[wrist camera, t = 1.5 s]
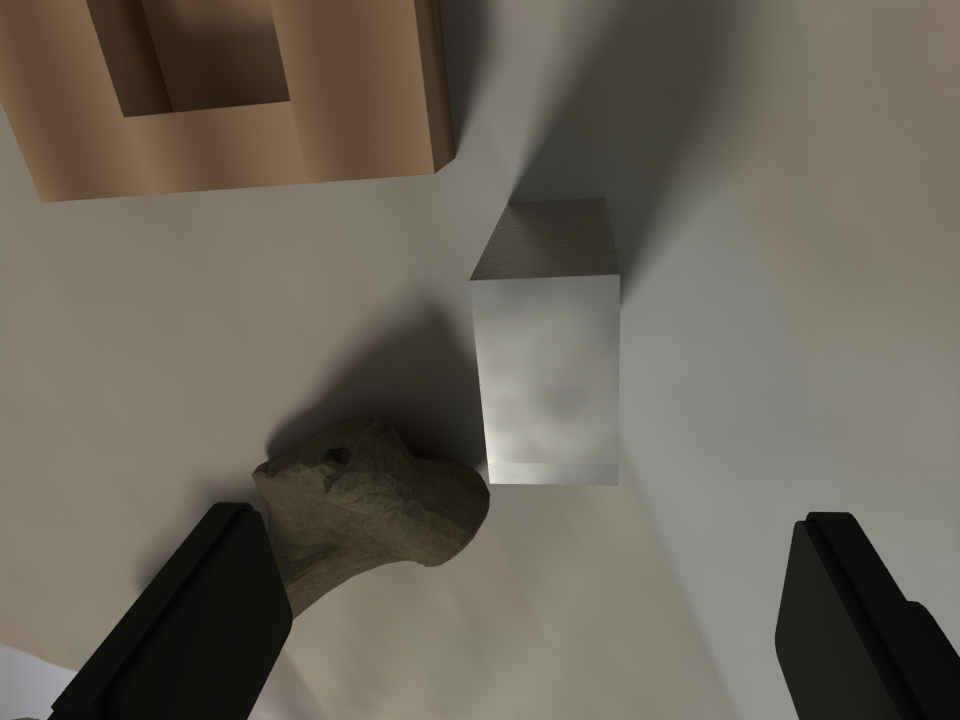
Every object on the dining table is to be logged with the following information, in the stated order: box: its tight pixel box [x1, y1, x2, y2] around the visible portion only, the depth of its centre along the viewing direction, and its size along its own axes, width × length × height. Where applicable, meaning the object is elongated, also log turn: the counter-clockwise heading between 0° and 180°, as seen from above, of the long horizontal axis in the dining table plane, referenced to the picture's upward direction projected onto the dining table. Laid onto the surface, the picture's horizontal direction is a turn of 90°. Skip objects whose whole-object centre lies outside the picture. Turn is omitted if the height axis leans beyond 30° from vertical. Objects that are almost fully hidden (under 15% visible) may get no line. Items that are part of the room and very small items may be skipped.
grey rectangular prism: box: [469, 198, 620, 486], centre depth 22 cm, size 4×7×10 cm, turn 5°
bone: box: [252, 416, 490, 619], centre depth 33 cm, size 10×10×30 cm
